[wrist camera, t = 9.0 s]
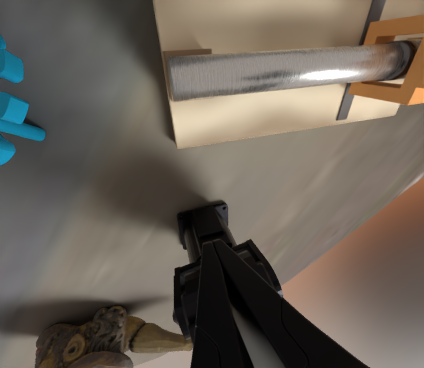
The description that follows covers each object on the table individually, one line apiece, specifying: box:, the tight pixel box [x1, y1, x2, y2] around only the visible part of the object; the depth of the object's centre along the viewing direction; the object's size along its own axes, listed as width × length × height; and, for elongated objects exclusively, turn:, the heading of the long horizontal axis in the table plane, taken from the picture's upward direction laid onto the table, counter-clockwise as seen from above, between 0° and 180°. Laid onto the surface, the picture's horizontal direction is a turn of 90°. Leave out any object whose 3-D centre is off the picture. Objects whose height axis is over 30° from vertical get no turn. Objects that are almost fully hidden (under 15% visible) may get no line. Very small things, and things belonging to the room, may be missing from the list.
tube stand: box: [153, 0, 424, 149], centre depth 16 cm, size 12×26×6 cm, turn 93°
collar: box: [348, 15, 424, 105], centre depth 15 cm, size 5×2×7 cm, turn 2°
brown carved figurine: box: [35, 306, 193, 368], centre depth 28 cm, size 9×22×10 cm, turn 90°
